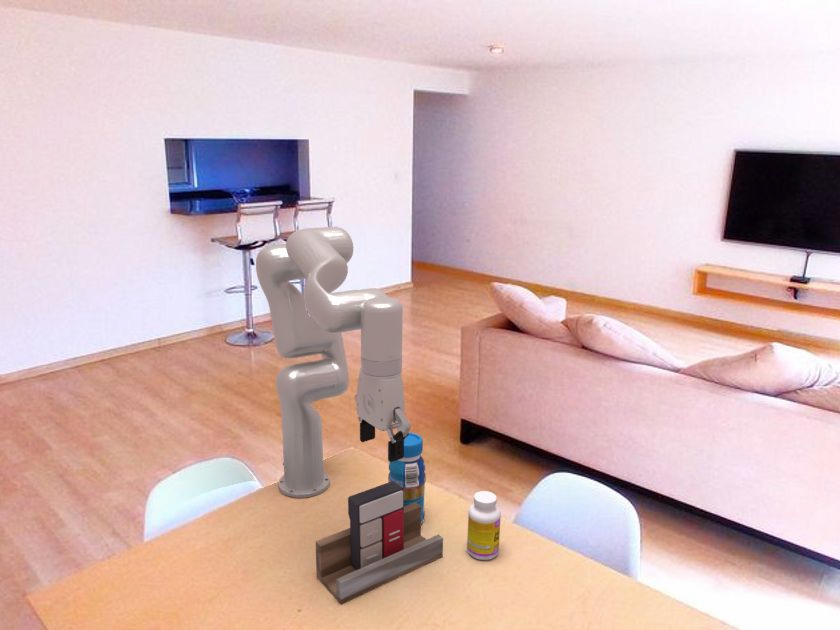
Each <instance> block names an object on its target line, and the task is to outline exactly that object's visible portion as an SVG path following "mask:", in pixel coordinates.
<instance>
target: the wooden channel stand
mask: <svg viewBox="0 0 840 630" xmlns="http://www.w3.org/2000/svg"><path fill="white" fill-rule="evenodd" d="M443 551H444V537H443V536H441V535H440V534H436V535H434V536H432V537H430V538H427V539H426V537H424V536H422V523H421V506H420V505H419V504H417V503H416V502H415V503H412V504H410V505H407V506H405V507H404V550H402V551H399V552H397V553H395V554H393V555H390V556H388V557H386V558H383V559H381V560H379V561H377V562H374V563H372V564H370V565H368V566H365V567H363V568H361V569H358V570H356V569H355V568H354V567H353V566H352V565H351V540H350V527H349V528H346V529H343V530H341V531H338V532H336V533H333V534H331V535H328V536H325V537H322V538H320V539H318V540H316V541H315V562H316V563H315V567H316V569H315V570H316V578H317V579H318V580H319V581H320V582H321V584H322V585H323V586H324V587H325V588H326V589H327V590H328V591H329V593H330V594H331V595H332V596H333V597H334V599H336V600H337V601H338V603H339V604H340V605H343V604H345V603H348V602H349V601H351V600H354V599H355V598H358V597H360V596H362V595H364V594H366V593H368V592H369V593H370V592H371V591H373V590H374V589H375V590H376V588H377V589H378V588H379V587H381V586H383V585H386V584H388V583H390V582H392V581H394V580H397V579H398V578H400V577H401V578H402V576H405V575H407V574H409V573H411V572H414V571H416V570H417V569H420V568H423V567H424V566H426V565H429V564H431V563H433V562H435V561H437V560H439V559H441V558H443V553H444V552H443Z"/></svg>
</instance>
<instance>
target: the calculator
mask: <svg viewBox="0 0 840 630" xmlns="http://www.w3.org/2000/svg"><path fill="white" fill-rule="evenodd" d="M347 513H348V517H349V528H350V540H351V565H352V566H353V567H354V568H355V569H356V570H358V569H361V568H363V567H365V566H368V565H370V564H372V563H374V562H377V561H379V560H381V559H383V558H386V557H388V556H390V555H393V554H395V553H397V552H399V551H402V550H404V488H403V487H401V486H400V485H399V484H397V483H396V482H394V481H391V482H385V483H383V484H381V485H378V486H375V487H372V488H370V489H367V490H363V491H361V492H357V493H356V494H352V495H350V496H349V497H347Z"/></svg>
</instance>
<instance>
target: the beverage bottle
mask: <svg viewBox="0 0 840 630" xmlns="http://www.w3.org/2000/svg"><path fill="white" fill-rule="evenodd" d="M423 441H424V440H423V438H422V436H421V435H420V434H417V433H415V432H409V435H408V436H407V437H406V439H405V440H404V457H403V458H402V459H399V460H396V461H393V462H389V464H388V471H389V472H388V476H387V481H388V482H391V481H394V482H396V483H397V484H399V485H400V486H401V487H403V488H404V507H405V506H407V505H410V504H412V503H415V502H416V503H417V504H419V505H420V506H421V524H422V523H423V522H424V521H425V517H426V515H425V513H426V512H425V489H426V486H425V485H426V482H427V475H426V472H425V471H426V467H427V466H426V462H425V459H424V458H423V456H422V453H423V451H424V450H423V448H424V447H423V445H424V444H423V443H424V442H423ZM388 482H387V483H388Z"/></svg>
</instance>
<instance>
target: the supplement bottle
mask: <svg viewBox="0 0 840 630" xmlns="http://www.w3.org/2000/svg"><path fill="white" fill-rule="evenodd" d="M497 501H498V499H497V495H496V494H495V493H494V492H491V491H487V490H481V491H477V492H475V494H474V496H473V503H472V505H470V506H469V508H468V514H467V515H468V517H467V519H468V520H467V540H466V551H467V553H468V554H469V555H470V556H471V557H472V558H474V559H476V560H479V561H489V560H492V559H495V558H496V557H497V556H498V554H499V550H500V531H501V517H502V516H501V510H500V508H499V507H498V505H497V504H498V502H497Z"/></svg>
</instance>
